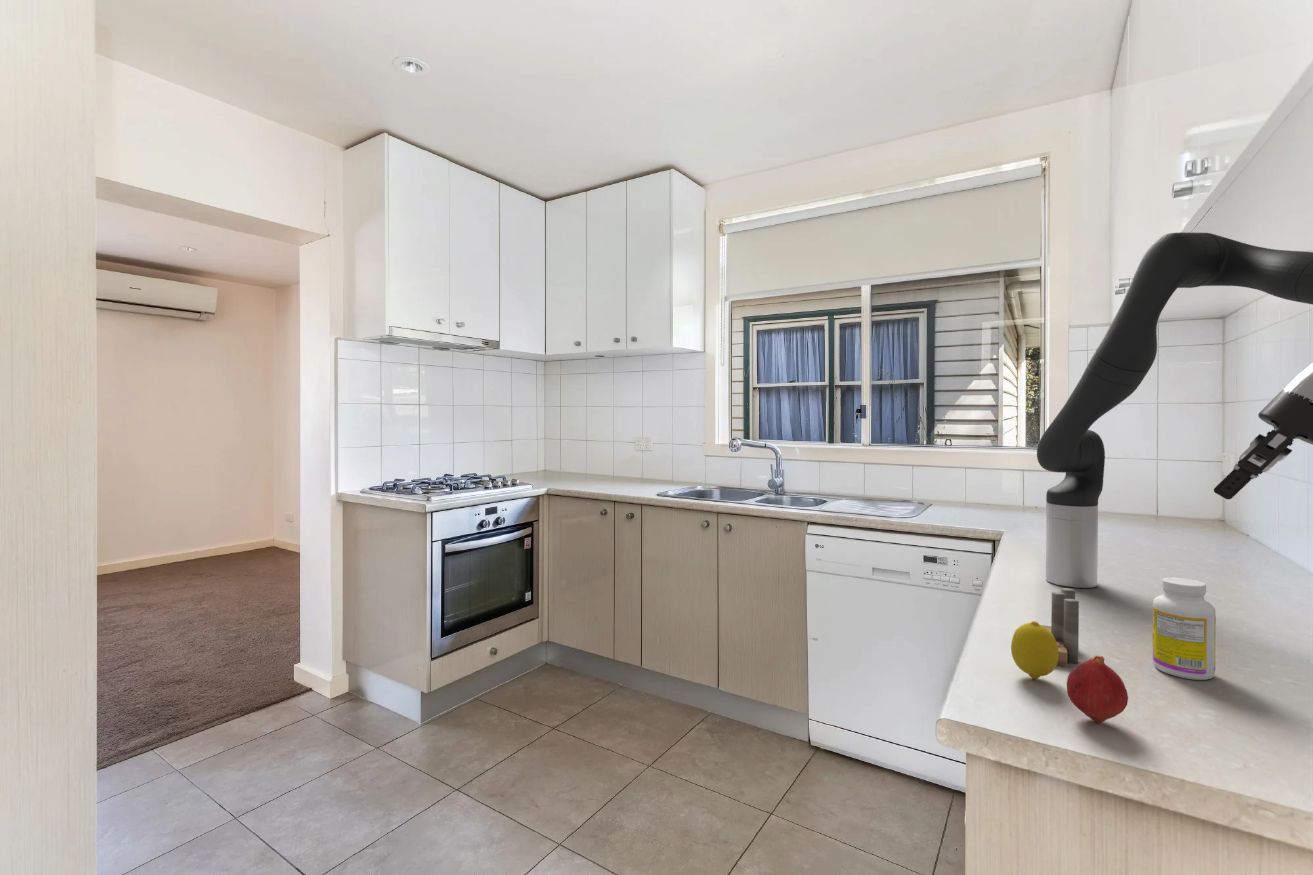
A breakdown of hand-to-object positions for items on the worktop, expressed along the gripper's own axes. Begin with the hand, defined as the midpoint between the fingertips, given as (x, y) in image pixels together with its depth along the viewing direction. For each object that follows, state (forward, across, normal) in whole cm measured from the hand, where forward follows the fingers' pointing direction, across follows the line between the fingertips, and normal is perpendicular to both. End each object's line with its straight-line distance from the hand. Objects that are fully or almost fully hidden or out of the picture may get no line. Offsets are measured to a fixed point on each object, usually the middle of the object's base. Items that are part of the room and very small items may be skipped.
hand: (1220, 495), depth 87 cm
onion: (+28, +31, +7) cm, 43 cm away
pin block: (+32, +10, -1) cm, 33 cm away
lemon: (+32, +23, 0) cm, 40 cm away
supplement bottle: (+23, +6, +12) cm, 26 cm away
